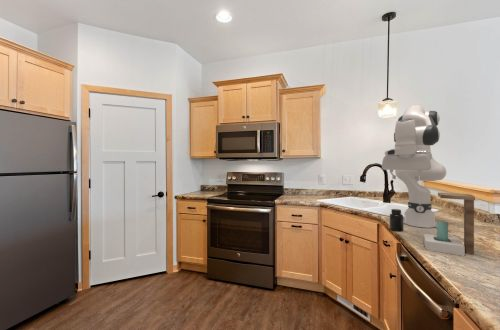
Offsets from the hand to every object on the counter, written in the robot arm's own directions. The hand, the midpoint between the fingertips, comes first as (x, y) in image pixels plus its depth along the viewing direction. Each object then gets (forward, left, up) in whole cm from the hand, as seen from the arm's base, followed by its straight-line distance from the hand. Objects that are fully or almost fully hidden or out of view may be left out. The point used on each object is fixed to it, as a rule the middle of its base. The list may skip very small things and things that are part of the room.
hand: (405, 179), depth 115 cm
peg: (+2, +14, -31) cm, 34 cm away
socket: (+2, +14, -31) cm, 34 cm away
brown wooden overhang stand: (+2, +19, -31) cm, 36 cm away
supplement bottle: (-21, -4, -31) cm, 38 cm away
